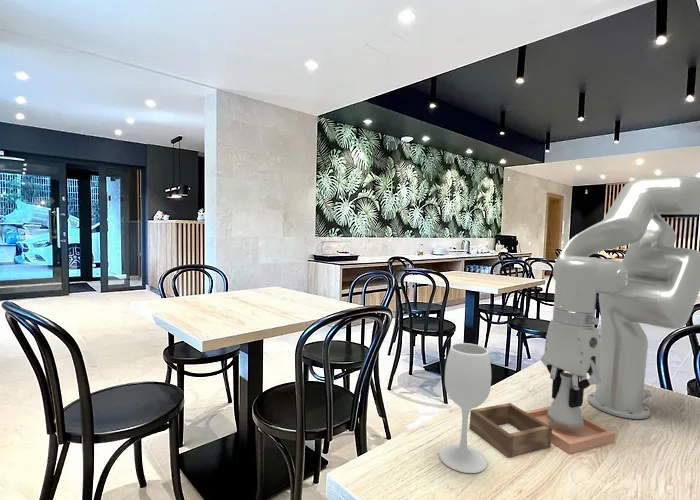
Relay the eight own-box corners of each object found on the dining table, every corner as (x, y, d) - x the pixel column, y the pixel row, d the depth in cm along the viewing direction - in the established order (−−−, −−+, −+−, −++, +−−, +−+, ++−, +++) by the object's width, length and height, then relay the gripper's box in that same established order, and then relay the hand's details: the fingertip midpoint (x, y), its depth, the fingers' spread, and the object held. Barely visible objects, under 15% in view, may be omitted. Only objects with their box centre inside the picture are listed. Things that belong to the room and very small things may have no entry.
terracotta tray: (559, 412, 91) (559, 404, 91) (614, 442, 79) (615, 432, 79) (517, 421, 86) (518, 412, 86) (569, 454, 74) (570, 444, 74)
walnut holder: (508, 420, 87) (510, 402, 86) (550, 447, 76) (552, 427, 76) (469, 428, 82) (470, 410, 82) (507, 457, 72) (509, 437, 72)
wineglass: (429, 450, 74) (435, 343, 72) (466, 442, 77) (472, 339, 76) (458, 478, 66) (465, 358, 64) (497, 468, 69) (505, 354, 68)
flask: (590, 431, 78) (594, 384, 78) (551, 426, 80) (555, 379, 79) (576, 414, 85) (580, 370, 85) (541, 410, 87) (545, 367, 86)
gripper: (625, 326, 75) (617, 417, 76) (552, 308, 90) (546, 384, 91) (599, 329, 72) (591, 424, 73) (528, 309, 87) (522, 388, 88)
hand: (566, 401), depth 82 cm, fingers closed on flask, 3 cm apart
